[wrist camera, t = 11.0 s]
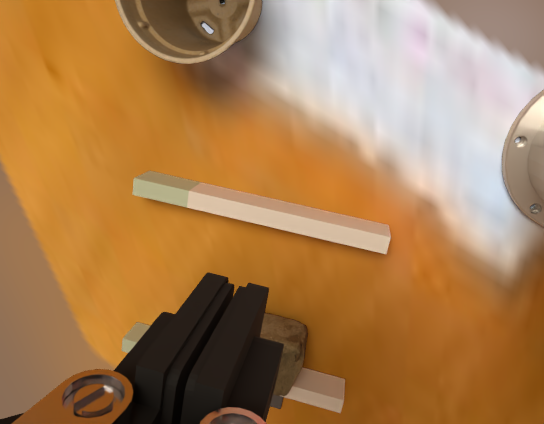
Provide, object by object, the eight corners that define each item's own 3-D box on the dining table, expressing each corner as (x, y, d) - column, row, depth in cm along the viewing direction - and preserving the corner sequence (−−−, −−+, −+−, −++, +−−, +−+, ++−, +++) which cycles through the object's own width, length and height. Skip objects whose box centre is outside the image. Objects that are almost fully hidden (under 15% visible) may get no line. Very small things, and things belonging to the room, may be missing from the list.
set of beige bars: (388, 224, 38) (390, 237, 35) (341, 391, 44) (340, 413, 41) (149, 170, 40) (133, 178, 38) (136, 334, 46) (121, 350, 44)
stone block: (194, 291, 42) (178, 319, 38) (311, 317, 42) (310, 350, 37) (187, 341, 44) (170, 374, 40) (299, 367, 44) (296, 404, 39)
